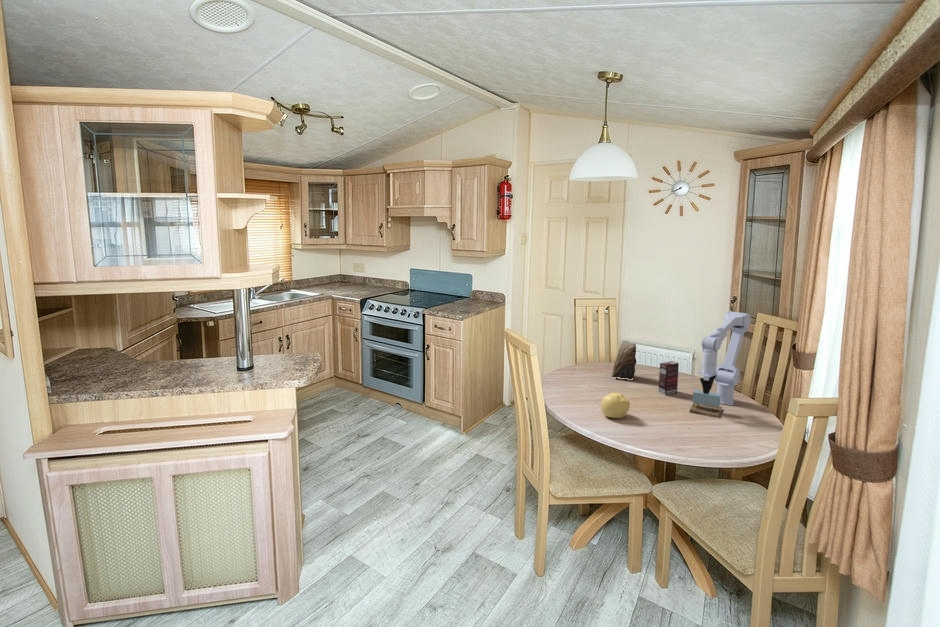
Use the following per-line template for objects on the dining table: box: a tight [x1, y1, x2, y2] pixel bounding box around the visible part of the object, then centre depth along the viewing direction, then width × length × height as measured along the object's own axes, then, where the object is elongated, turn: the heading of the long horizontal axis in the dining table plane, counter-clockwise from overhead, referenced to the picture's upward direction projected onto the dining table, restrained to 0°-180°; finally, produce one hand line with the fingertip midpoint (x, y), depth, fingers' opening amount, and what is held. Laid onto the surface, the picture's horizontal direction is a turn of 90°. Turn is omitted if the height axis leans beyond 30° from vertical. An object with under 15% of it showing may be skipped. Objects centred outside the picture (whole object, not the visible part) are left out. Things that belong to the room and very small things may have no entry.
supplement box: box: [657, 360, 680, 396], centre depth 254 cm, size 9×5×16 cm, turn 115°
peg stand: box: [689, 403, 723, 418], centre depth 232 cm, size 12×12×4 cm
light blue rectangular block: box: [691, 389, 721, 407], centre depth 231 cm, size 11×4×5 cm, turn 58°
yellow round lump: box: [600, 392, 631, 419], centre depth 226 cm, size 11×12×11 cm
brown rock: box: [611, 339, 637, 379], centre depth 278 cm, size 13×13×20 cm
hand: (707, 391), depth 230 cm, fingers open, 7 cm apart
